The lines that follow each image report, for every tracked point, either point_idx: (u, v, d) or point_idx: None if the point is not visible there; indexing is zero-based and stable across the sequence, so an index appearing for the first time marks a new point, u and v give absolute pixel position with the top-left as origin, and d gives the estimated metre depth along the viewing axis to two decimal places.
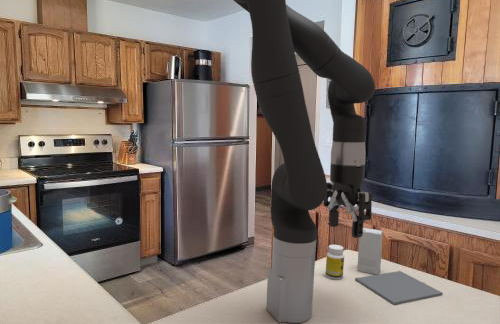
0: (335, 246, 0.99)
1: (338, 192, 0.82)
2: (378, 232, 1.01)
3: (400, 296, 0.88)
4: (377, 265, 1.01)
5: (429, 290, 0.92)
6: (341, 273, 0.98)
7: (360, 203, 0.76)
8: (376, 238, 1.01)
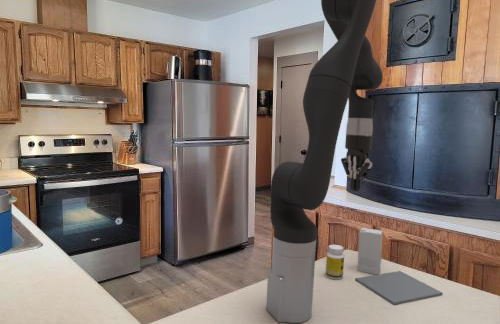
0: (335, 246, 0.99)
1: (350, 155, 1.09)
2: (378, 232, 1.01)
3: (400, 296, 0.88)
4: (377, 265, 1.01)
5: (429, 290, 0.92)
6: (341, 273, 0.98)
7: (363, 169, 1.04)
8: (376, 238, 1.01)
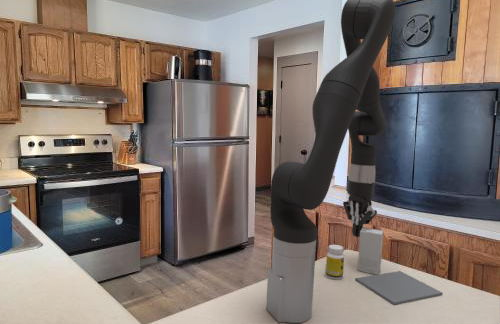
0: (335, 246, 0.99)
1: (352, 201, 1.08)
2: (379, 232, 1.01)
3: (400, 296, 0.88)
4: (377, 265, 1.01)
5: (429, 290, 0.92)
6: (341, 273, 0.98)
7: (366, 216, 1.03)
8: (377, 238, 1.00)
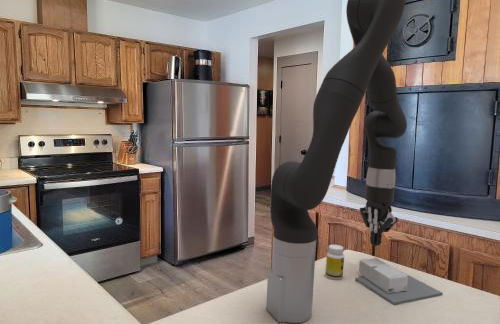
0: (335, 246, 0.99)
1: (370, 207, 1.01)
2: (405, 286, 0.91)
3: (400, 296, 0.88)
4: None
5: (429, 290, 0.92)
6: (341, 273, 0.98)
7: (386, 224, 0.96)
8: None
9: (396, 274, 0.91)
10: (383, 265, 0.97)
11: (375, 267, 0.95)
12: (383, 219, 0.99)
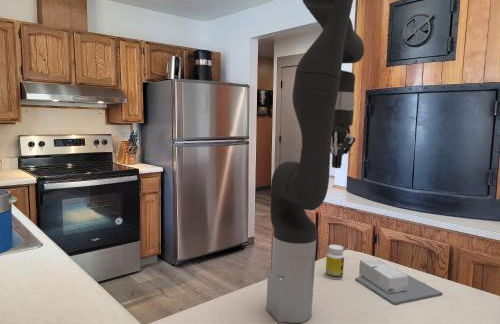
0: (335, 246, 0.99)
1: (331, 131, 1.06)
2: (405, 286, 0.91)
3: (400, 296, 0.88)
4: None
5: (429, 290, 0.92)
6: (341, 273, 0.98)
7: (344, 144, 1.01)
8: None
9: (396, 274, 0.91)
10: (383, 265, 0.97)
11: (375, 267, 0.95)
12: (342, 141, 1.03)
